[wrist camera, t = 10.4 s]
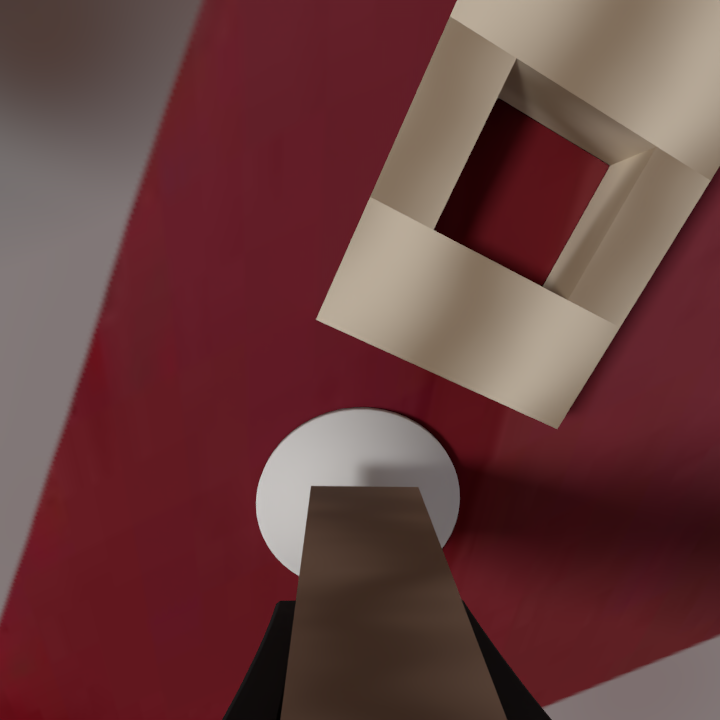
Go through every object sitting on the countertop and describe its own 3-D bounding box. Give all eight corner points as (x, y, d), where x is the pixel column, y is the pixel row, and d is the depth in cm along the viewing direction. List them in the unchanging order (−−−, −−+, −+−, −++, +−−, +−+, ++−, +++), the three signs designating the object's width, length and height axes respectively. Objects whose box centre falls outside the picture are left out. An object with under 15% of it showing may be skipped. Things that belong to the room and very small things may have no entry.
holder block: (725, 79, 13) (794, 44, 11) (529, 410, 15) (557, 429, 14) (494, -82, 11) (525, -155, 9) (319, 313, 14) (316, 319, 12)
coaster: (484, 536, 17) (487, 543, 16) (314, 610, 17) (313, 618, 17) (411, 372, 15) (413, 375, 14) (220, 460, 15) (216, 465, 15)
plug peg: (418, 487, 13) (531, 783, 6) (409, 576, 14) (496, 939, 6) (310, 485, 13) (269, 796, 5) (309, 576, 14) (272, 957, 6)
